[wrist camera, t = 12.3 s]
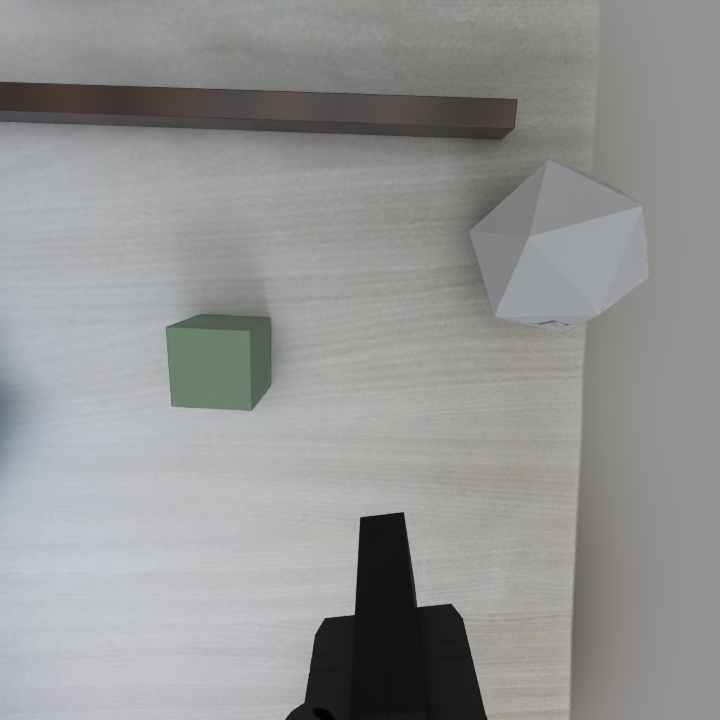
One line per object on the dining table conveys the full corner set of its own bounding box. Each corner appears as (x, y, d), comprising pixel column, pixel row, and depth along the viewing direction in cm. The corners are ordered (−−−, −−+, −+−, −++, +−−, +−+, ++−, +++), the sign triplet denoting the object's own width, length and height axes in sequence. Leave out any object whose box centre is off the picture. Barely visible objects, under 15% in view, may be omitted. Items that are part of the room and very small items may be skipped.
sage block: (270, 317, 30) (250, 330, 25) (271, 386, 31) (251, 411, 26) (199, 314, 30) (165, 326, 25) (202, 382, 31) (170, 406, 27)
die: (431, 245, 29) (476, 359, 23) (515, 109, 23) (607, 213, 17) (529, 274, 32) (593, 381, 26) (625, 160, 26) (738, 264, 20)
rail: (504, 112, 26) (518, 98, 24) (501, 139, 27) (514, 128, 24) (-194, 88, 27) (-249, 73, 25) (-187, 114, 28) (-241, 102, 25)
